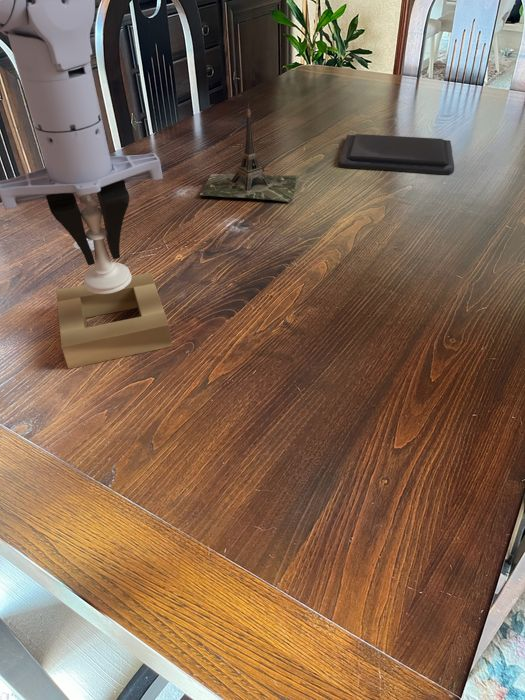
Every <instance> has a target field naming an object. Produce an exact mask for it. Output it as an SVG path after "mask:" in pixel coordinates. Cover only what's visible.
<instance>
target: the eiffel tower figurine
mask: <svg viewBox="0 0 525 700" xmlns="http://www.w3.org/2000/svg"><path fill="white" fill-rule="evenodd" d="M249 107H250V106H249V104H247V109H246V111H245V115H246V128H245V129H246V130H245V131H246V134H245V146H244V152H243V158H242V161H241V163H240V165H239V166H238V167H237V168H238V170H237V171H236V173H211V174H210V175H209V178H208V179H207V181H206V183H205V185H204V186H203V188H202V190H201V192H200V193H199V196H202V197H203V196H205V197H208V196H209V197H220V198H237V199H238V198H241V199H256V200H268V201H278V202H287V203H291V202H292V201H293V196H294V192H295V186H296V182H297V177H298V175H297V174H295V175H294V174H293V175H290V174H289V175H271V174H265V173H264V171H263V167H262V166H261V165H260V164H259V161H258V158H257V153H256V151H255V146H254V139H253V129H252V120H251V119H252V118H251V117H252V116H251V115H252V111H251V109H250V108H249Z"/></svg>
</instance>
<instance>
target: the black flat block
mask: <svg viewBox="0 0 525 700" xmlns="http://www.w3.org/2000/svg"><path fill="white" fill-rule="evenodd" d="M451 142H452V141H451V140H449V139H446V140H445V139H443V138H436V137H435V138H434V137H419V136H417V137H415V136H402V135H401V136H400V135H385V134H384V135H381V134H364V133H356V134H347V135H346V137H345V139H344V141H343V144H342V147H341V150H340V153H339V156H338V160H337V166H338V167H339V168H344V169H353V170H354V169H355V170H356V169H357V170H370V171H371V170H372V171H387V172H404V173H417V174H432V175H448V176H449V175H451V174H453V173H454V172H455V162H454V157H453V149H452V148H453V147H452V143H451Z"/></svg>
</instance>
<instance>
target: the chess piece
mask: <svg viewBox="0 0 525 700" xmlns="http://www.w3.org/2000/svg"><path fill="white" fill-rule="evenodd" d="M78 199H79V203H81V204H85V207H84V208H83V209H82V210H80V213H81V218H82V221H84V223H85V224H86V226H87V227H88V230H86V231H85V234H86V238H87V240H89V241H93V242H92V243H93V251H94V258H95V259H94V261H95V264H94V265H93V266H91V267H90V268H89V269H88V270H87V271H86V272H85V273H84V275H83V285H85V288H86V289H87V290H88V291H90V292H92V293H96V294H110V293H114V292H117V291H120V290H122V289H123V288H125V287H126V286H127V285H128V284H129V283H130V282H131V279H132V276H133V275H132V273H131V271H130V269H129V267H128V266H127V265H126V264H123V263H120V262H115V261H112V259H111V256H110V254H109V252H108V248H107V246H106V244H105V241H104V238H106V236H107V234H108V232H107V231H106V229H105V227H102V226H101V225H102V218H103V215H102V210H101V207H98V206H97V205H98V199H95V198H92V197H91V194H88V195H82V196H80V197H79V198H78Z"/></svg>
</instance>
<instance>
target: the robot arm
mask: <svg viewBox="0 0 525 700" xmlns="http://www.w3.org/2000/svg"><path fill="white" fill-rule="evenodd" d="M95 14H96V0H0V33H1V34H3V35H4V36H6V37H8V41H9V44H10V48H11V51H12V55H13V57H14V61H15V65H16V68H17V72H18V76H19V78H20V83H21V85H22V86H21V87H22V89H23V93H24V96H25V99H26V102H27V103H26V104H27V106H28V109H29V113H30V116H31V117H30V118H31V120H32V123H33V129H34V131H35V134H36V138H37V141H38V145H39V149H40V151H41V156H42V159H43V162H44V165H45V167H43V168H40V169H36V170H34V171H31V172H28V173H24V174H21V175H18V176H15V177H11V178H7V179H1V180H0V200H1V203H2V205H3V208H4V210H5V211H8V210H12V209H17V208H18V205H22V204H27V203H33V202H36V201H38V202H39V201H43V200H46V201H47V204H48V208H49V211H50V213H51V214H52V216H53V217H54V218H55V219H56V221H57V222H58V223H59V224H60V225H61V227H63V228H64V229H65V231H67V232H68V234H69V235H70V236H71V237H72V239H73V240H74V241H75V243H76V245H77V246H78V247H79V249H80V251H81V253H82V254H83V257H84V259H85V262H86V264H87V266H91V265H96V261H95V259H94V258H95V257H94V254H93V252H92V249H91V247H90V244H89V241H88V239H87V238H86V230H85V226H84V222H83V218H82V217H81V209H80V207H79V205H78V203H77V198H76V196H75V194H76V195H78V196H80V197H82V196H83V195H88V194H90V195H92V194H96V196H97V201H98V203H99V208H100V209H101V210H102V218H103V219H102V220H103V224H104V228H105V229H106V231H107V232H108V234H107V236H106V237H105V238H106V242H107V247H108V250H109V252H110V255H111V257H112V260H118V259H120V258H121V253H120V252H121V251H120V246H121V244H120V243H121V235H122V234H121V233H122V228H123V227H122V226H123V222H124V219H125V215H126V213H127V209H128V207H129V203H130V194H129V191H128V189H127V187H126V186H127V185H126V184H129V183H135V182H140V181H144V180H150V181H153V182H155V181H160V180H163V172H162V164H161V159H160V157H158V155H157V154H156V153H155V152H152V153H145V154H133V155H131V154H130V155H113V156H111V155H110V149H109V144H108V142H107V136H106V130H105V127H104V122H103V115H102V111H101V107H100V103H99V102H100V101H99V98H98V93H97V87H96V83H95V78H94V73H93V68H92V63H91V60H92V57H91V56H92V55H93V49H92V44H91V37H90V36H91V30H92V27H93V24H94V21H95Z"/></svg>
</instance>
